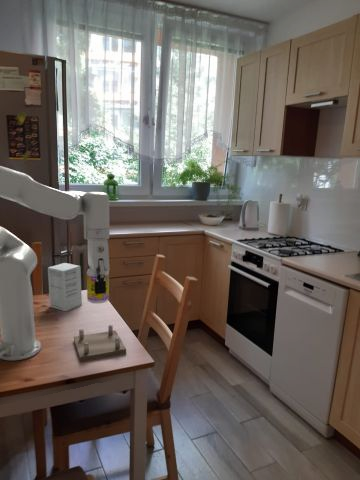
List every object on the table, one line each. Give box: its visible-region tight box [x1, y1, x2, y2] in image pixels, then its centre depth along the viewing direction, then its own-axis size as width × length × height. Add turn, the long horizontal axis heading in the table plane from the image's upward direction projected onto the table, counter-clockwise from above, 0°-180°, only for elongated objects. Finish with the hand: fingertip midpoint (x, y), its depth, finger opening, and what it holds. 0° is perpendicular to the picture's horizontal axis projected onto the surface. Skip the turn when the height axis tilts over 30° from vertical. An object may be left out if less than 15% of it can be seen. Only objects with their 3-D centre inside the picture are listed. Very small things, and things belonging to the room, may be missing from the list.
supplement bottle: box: [86, 267, 110, 304], centre depth 114 cm, size 7×7×13 cm
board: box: [73, 324, 127, 363], centre depth 118 cm, size 14×14×4 cm
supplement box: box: [47, 262, 83, 312], centre depth 150 cm, size 10×9×17 cm
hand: (97, 289), depth 115 cm, fingers closed on supplement bottle, 6 cm apart
